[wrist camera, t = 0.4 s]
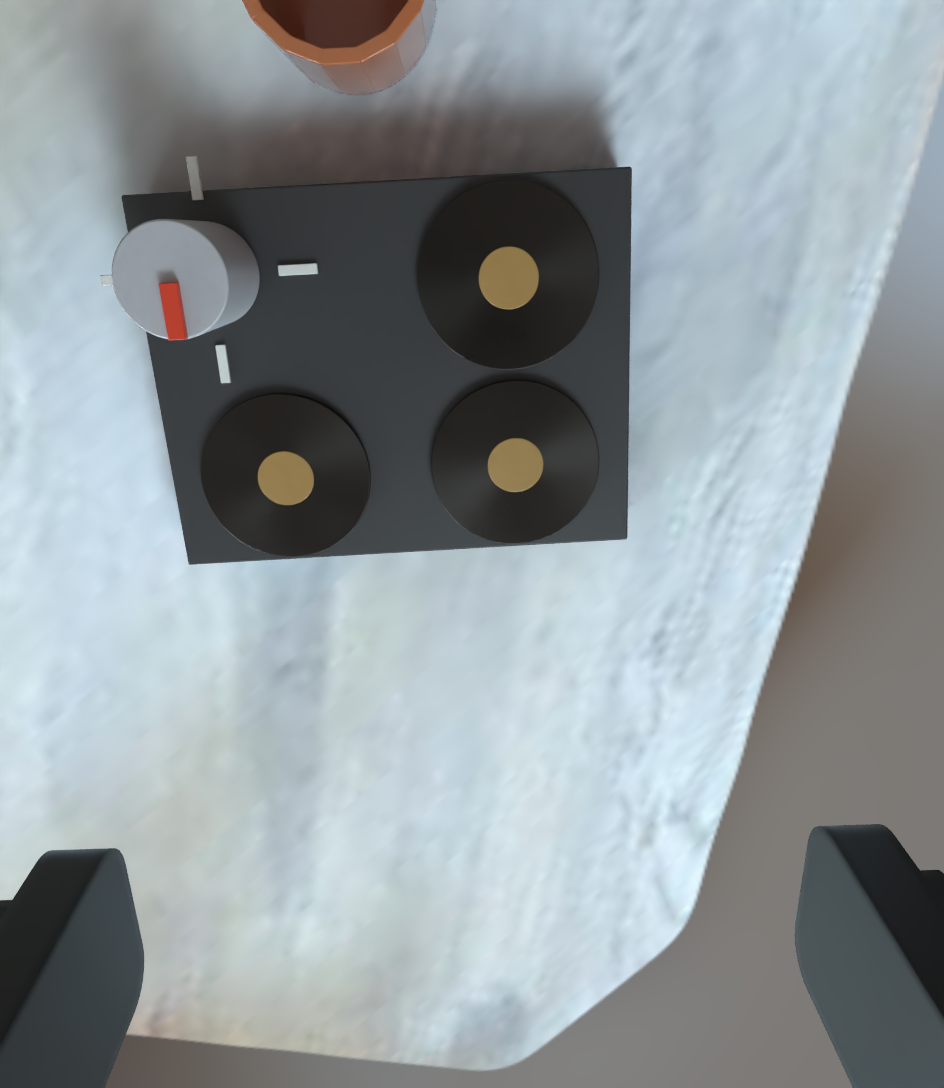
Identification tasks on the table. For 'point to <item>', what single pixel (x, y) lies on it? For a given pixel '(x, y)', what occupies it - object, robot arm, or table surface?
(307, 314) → the hob
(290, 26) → the copper pot
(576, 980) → the table surface
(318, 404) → the burners
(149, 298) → the hob knob
